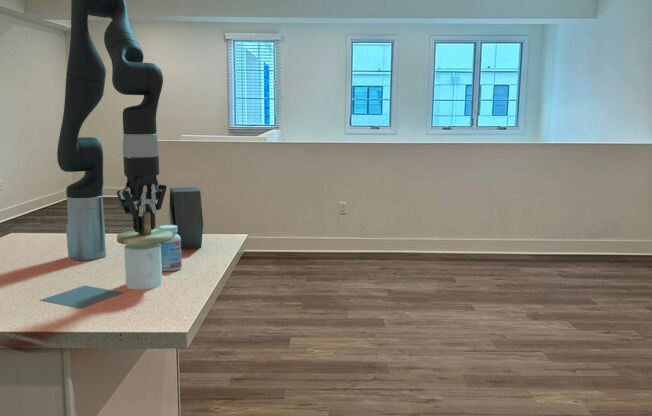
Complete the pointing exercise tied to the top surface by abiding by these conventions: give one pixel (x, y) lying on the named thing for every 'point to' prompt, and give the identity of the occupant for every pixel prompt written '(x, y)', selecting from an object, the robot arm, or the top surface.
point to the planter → (187, 215)
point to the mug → (143, 266)
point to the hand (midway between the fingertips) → (144, 230)
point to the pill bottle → (171, 250)
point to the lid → (145, 234)
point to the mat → (82, 296)
